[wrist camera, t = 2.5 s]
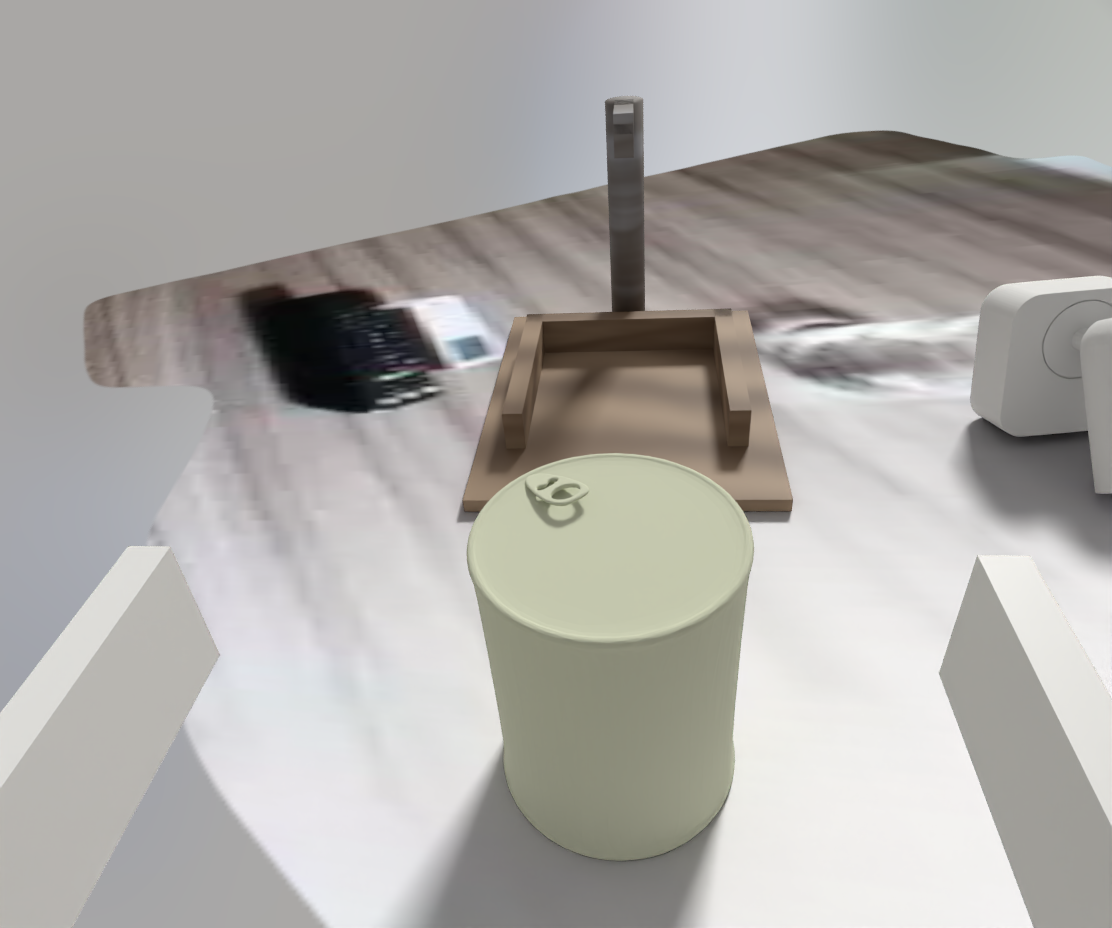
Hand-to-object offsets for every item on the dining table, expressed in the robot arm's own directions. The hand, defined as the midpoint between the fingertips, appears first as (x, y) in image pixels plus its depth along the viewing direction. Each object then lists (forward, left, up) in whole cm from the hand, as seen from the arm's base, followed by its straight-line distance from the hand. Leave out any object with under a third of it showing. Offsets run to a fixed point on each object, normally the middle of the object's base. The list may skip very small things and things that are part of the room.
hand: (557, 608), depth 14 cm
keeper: (+20, -30, -19) cm, 40 cm away
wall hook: (-4, -40, -19) cm, 44 cm away
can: (+6, -8, -19) cm, 21 cm away
